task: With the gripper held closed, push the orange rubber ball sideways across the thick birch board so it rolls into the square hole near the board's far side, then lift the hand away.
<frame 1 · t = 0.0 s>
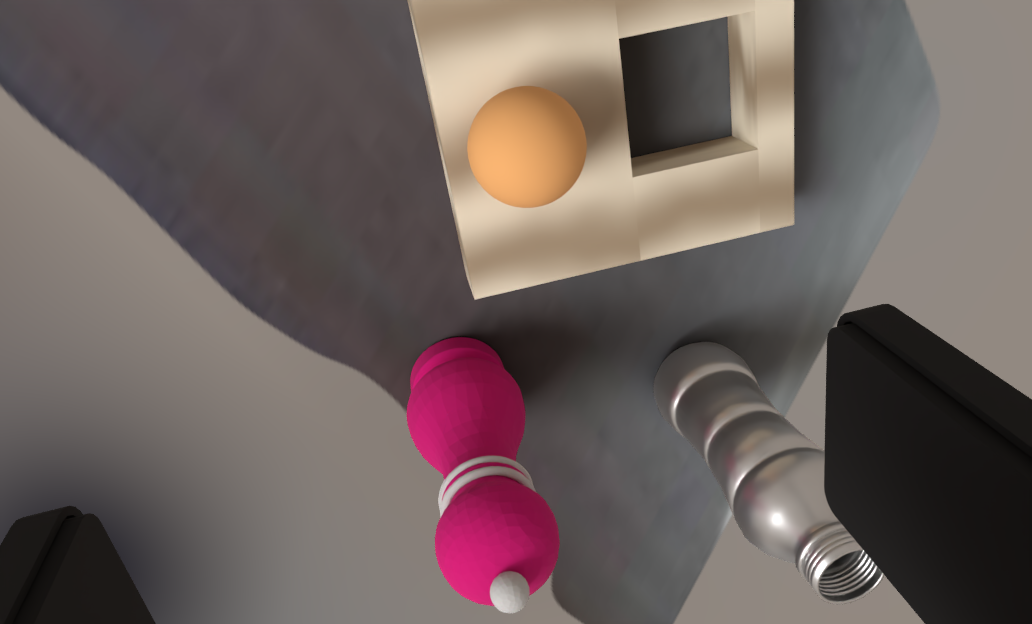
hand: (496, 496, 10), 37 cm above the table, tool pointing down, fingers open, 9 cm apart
ball: (526, 147, 39), point 6 cm above the table, touching hole board
pepper mill: (457, 376, 52), on the table
hole board: (603, 99, 45), on the table
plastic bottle: (688, 369, 55), on the table
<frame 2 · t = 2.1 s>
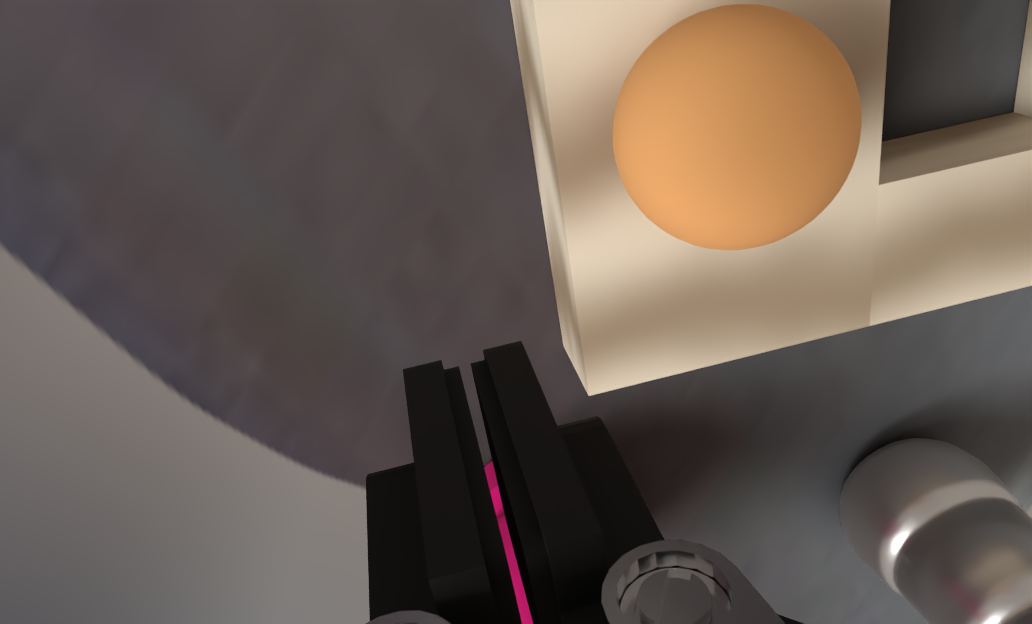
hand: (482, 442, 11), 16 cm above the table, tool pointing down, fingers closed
ball: (731, 131, 20), point 6 cm above the table, touching hole board
pepper mill: (538, 496, 33), on the table
hole board: (817, 47, 26), on the table
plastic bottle: (885, 474, 36), on the table
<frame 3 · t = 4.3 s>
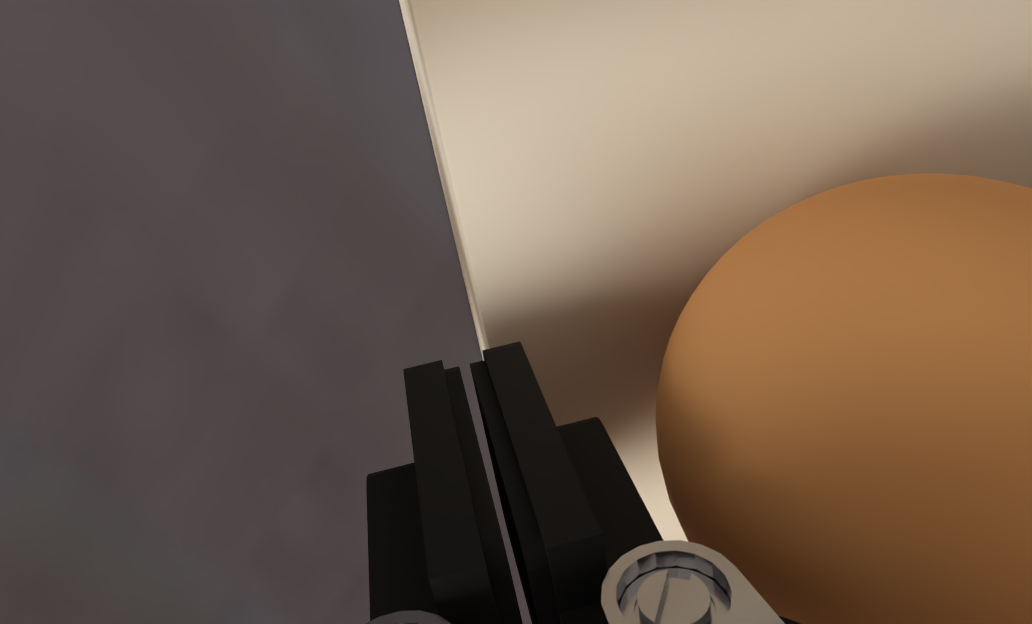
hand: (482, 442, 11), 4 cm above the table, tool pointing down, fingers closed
ball: (907, 424, 9), point 6 cm above the table, tilted 8°, touching gripper, hole board
hole board: (952, 166, 16), on the table
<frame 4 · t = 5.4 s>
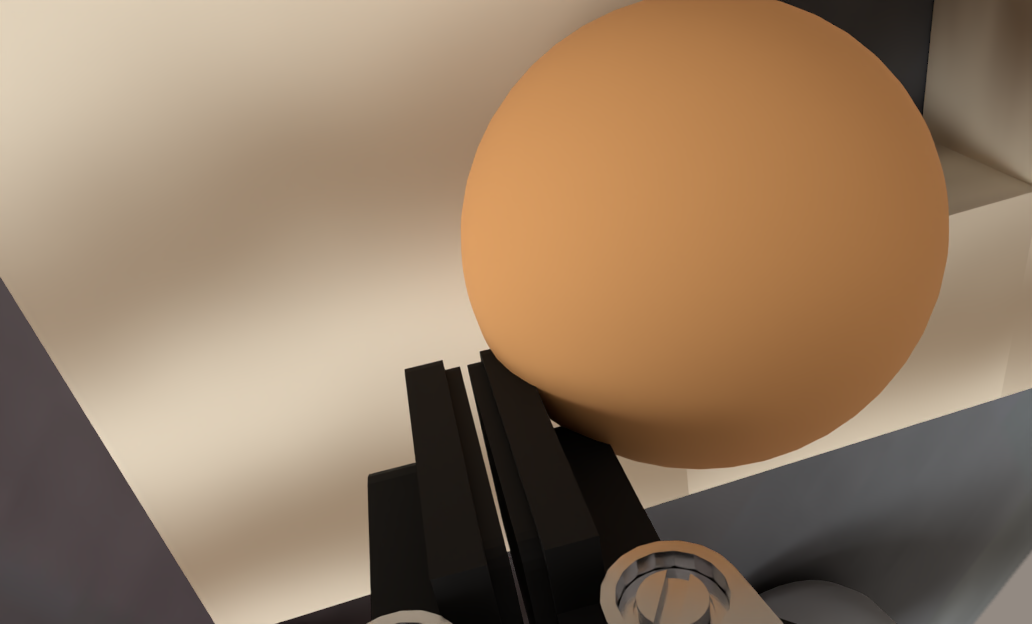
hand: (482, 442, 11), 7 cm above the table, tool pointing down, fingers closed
ball: (688, 237, 10), point 6 cm above the table, tilted 72°, touching gripper, hole board
hole board: (577, 49, 15), on the table
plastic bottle: (769, 616, 26), on the table
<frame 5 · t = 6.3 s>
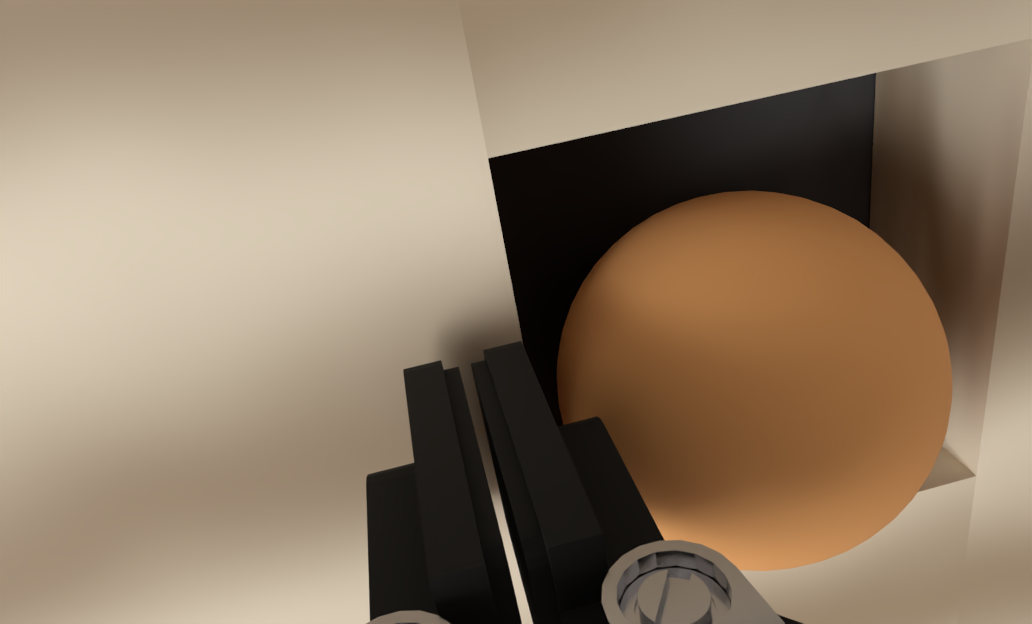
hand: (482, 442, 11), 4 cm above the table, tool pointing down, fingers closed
ball: (741, 377, 13), point 3 cm above the table, tilted 67°
hole board: (485, 309, 15), on the table
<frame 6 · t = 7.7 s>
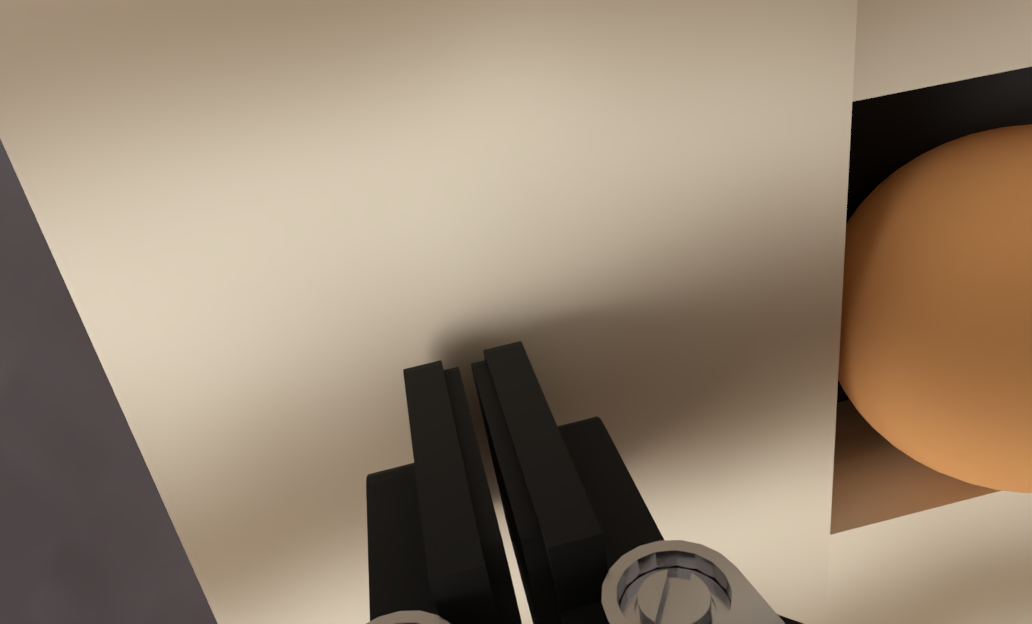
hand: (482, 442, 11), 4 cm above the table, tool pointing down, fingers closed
ball: (1014, 308, 13), point 3 cm above the table, tilted 67°
hole board: (729, 267, 15), on the table
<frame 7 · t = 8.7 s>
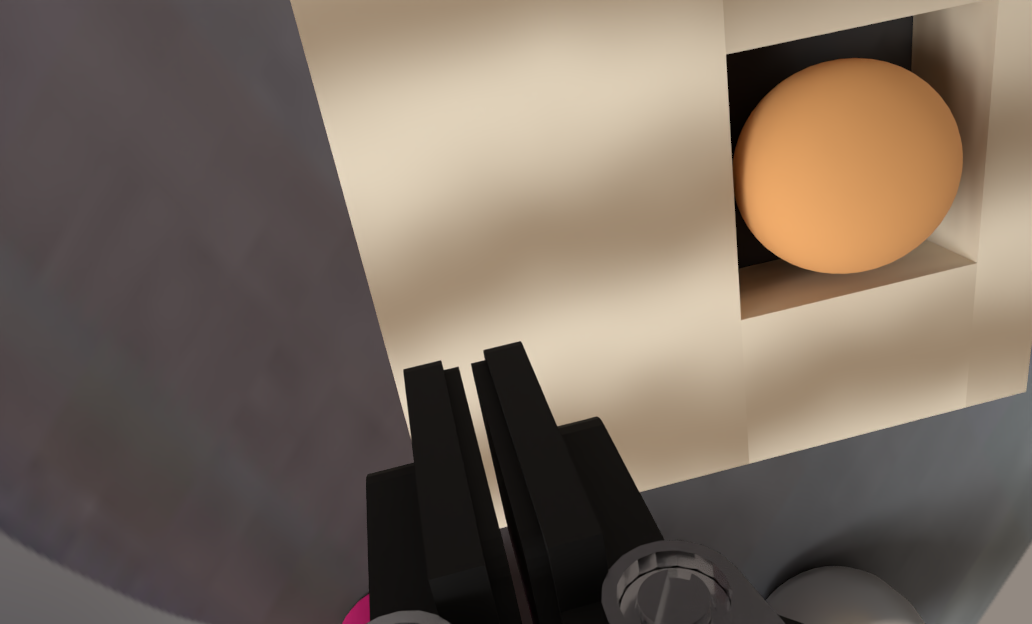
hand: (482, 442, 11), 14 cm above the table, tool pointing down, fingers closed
ball: (841, 168, 22), point 3 cm above the table, tilted 66°
hole board: (680, 170, 24), on the table
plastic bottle: (806, 601, 33), on the table
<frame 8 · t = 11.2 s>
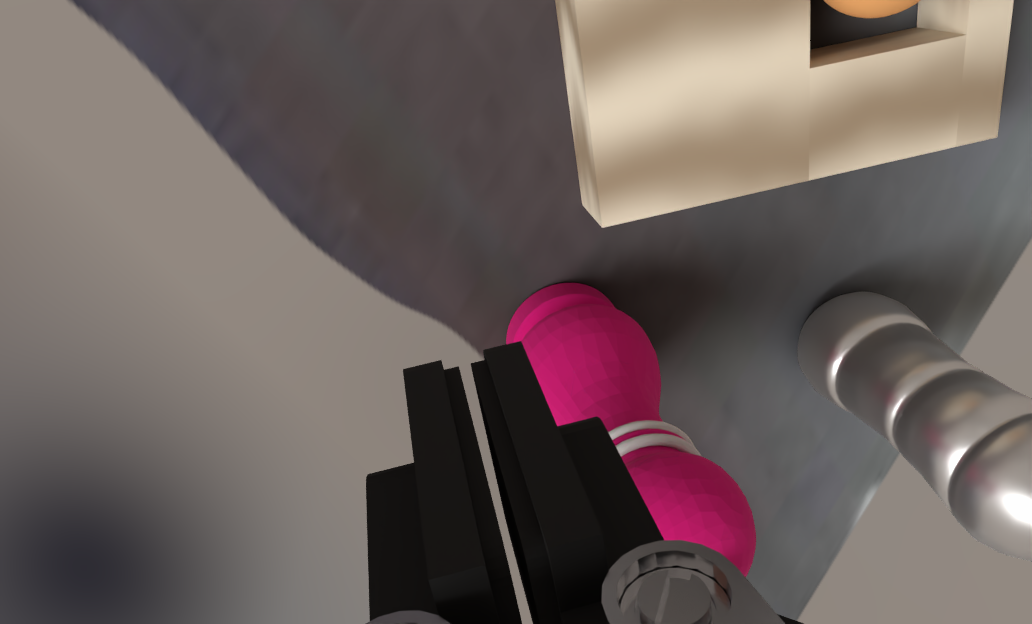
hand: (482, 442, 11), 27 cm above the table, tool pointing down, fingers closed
pepper mill: (561, 332, 42), on the table
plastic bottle: (834, 328, 45), on the table
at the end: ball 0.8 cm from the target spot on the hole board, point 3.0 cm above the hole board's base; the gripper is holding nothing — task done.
